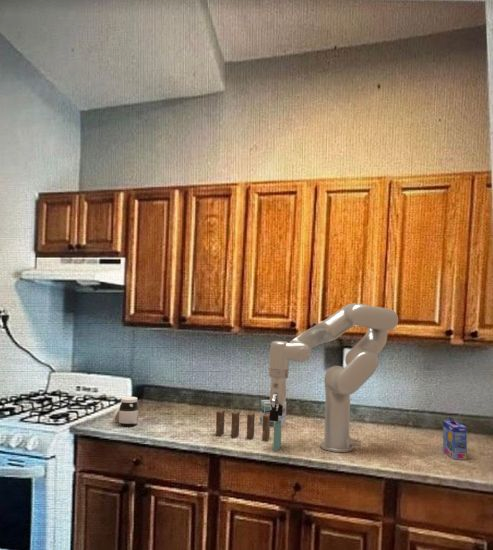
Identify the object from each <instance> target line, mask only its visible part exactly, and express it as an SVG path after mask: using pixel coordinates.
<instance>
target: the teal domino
mask: <svg viewBox="0 0 493 550" xmlns="http://www.w3.org/2000/svg"><path fill="white" fill-rule="evenodd" d="M281 443H282V426H281V421H277V422H275V423H274V427H273V447H272V449H273V451H274V452H275V451H276V452H278V451H280V449H281V447H282V446H281V445H282V444H281Z"/></svg>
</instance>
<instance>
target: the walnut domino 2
mask: <svg viewBox="0 0 493 550" xmlns="http://www.w3.org/2000/svg"><path fill="white" fill-rule="evenodd" d="M230 429H231V430H230V431H231V432H230V437H231V439H237V438H238V436H239V435H240V410H234V411H232V412H231V428H230Z"/></svg>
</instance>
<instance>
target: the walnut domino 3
mask: <svg viewBox="0 0 493 550" xmlns="http://www.w3.org/2000/svg"><path fill="white" fill-rule="evenodd" d="M255 414H256V412H255V411H249V412H248V413H247V415H246V418H247V419H246V440H249V439H250V440H253V438H255V417H256V415H255ZM250 440H249V441H250Z"/></svg>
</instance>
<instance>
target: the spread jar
mask: <svg viewBox="0 0 493 550" xmlns="http://www.w3.org/2000/svg"><path fill="white" fill-rule="evenodd" d="M112 421H113V422H115V423H118V424H119V426H120V427H124V428H134V427H136V426H137V425H138V423H139V403H138V397H136V396H122V397H121V403H120V405H119V407H117V408H116V410H115V411H114V412H113V414H112Z"/></svg>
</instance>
